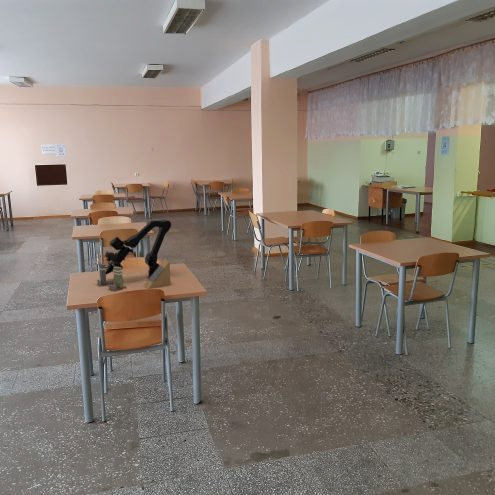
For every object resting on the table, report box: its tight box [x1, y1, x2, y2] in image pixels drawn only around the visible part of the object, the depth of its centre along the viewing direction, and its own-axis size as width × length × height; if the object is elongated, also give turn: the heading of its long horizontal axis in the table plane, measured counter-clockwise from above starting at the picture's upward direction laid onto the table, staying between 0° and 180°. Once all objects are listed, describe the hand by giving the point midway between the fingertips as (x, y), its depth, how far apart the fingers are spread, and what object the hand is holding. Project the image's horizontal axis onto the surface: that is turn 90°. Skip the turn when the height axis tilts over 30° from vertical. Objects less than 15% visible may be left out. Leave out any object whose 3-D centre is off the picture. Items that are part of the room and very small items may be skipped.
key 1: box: [98, 262, 107, 284], centre depth 294 cm, size 3×5×12 cm, turn 31°
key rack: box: [96, 279, 127, 292], centre depth 291 cm, size 10×22×3 cm, turn 45°
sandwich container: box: [142, 259, 172, 290], centre depth 291 cm, size 9×15×15 cm, turn 122°
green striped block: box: [112, 267, 124, 288], centre depth 286 cm, size 3×5×12 cm, turn 57°
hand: (105, 274), depth 295 cm, fingers closed
